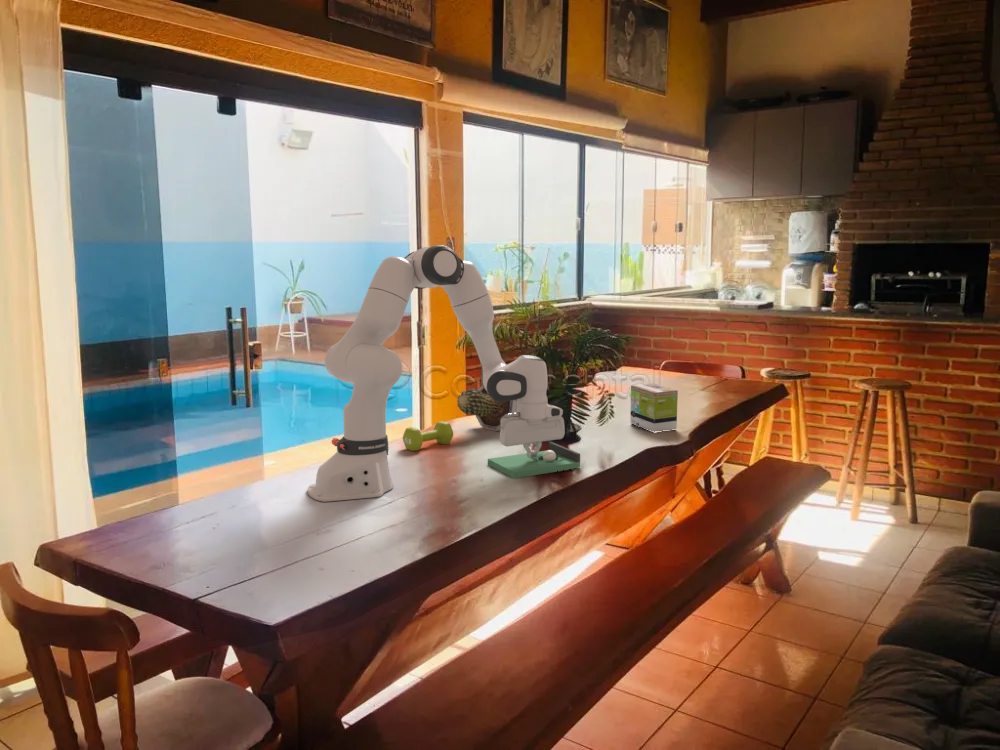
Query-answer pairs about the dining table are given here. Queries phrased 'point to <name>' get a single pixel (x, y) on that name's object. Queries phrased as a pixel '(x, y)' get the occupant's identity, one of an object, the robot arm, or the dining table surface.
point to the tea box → (654, 407)
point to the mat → (536, 462)
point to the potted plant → (485, 407)
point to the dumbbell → (427, 435)
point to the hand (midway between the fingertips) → (532, 457)
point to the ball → (549, 455)
